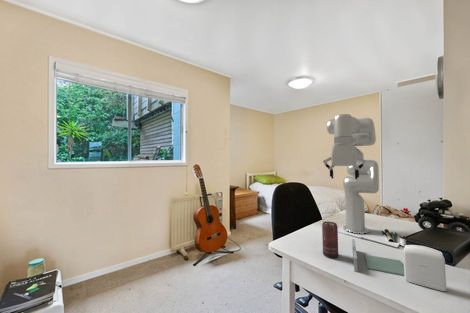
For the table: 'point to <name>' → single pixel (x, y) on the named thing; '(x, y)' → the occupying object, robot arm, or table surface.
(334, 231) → the can
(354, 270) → the acrylic wall
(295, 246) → the table surface
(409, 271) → the photo printer
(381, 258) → the mat
